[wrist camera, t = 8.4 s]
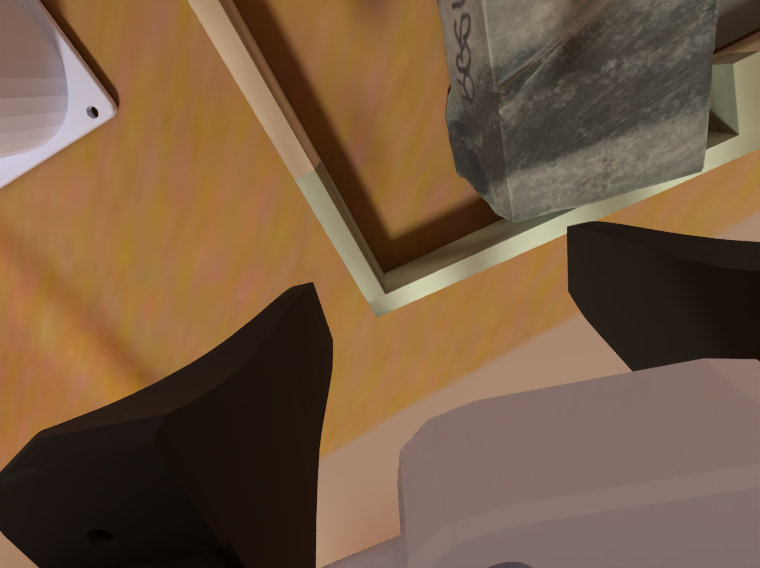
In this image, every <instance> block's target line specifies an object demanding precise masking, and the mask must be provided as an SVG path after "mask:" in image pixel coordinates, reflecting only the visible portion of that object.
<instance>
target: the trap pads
mask: <svg viewBox="0 0 760 568" xmlns="http://www.w3.org/2000/svg"><path fill="white" fill-rule="evenodd" d="M758 28H760V0H719V5H718V14H717V23H716V35H715V49H717V48H719V47H721V46H723V45H725V44H728V43H730V42H732V41H734V40H736V39H738V38H740V37H742V36H744V35H746V34H748V33H750V32H752V31H754V30H756V29H758ZM715 49H714V50H715Z"/></svg>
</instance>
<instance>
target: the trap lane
mask: <svg viewBox="0 0 760 568" xmlns="http://www.w3.org/2000/svg"><path fill="white" fill-rule="evenodd" d="M188 2H189V3H190V5H191V7H192V8H193V10H194V12H195V13H196V15H197V17H198V18H199V20H200V22H201V23H202V25H203V27H204V28H205V30H206V32H207V33H208V35H209V37H210V38H211V40H212V42H213V43H214V45H215V47H216V49H217V50H218V52H219V54H220V55H221V57H222V59H223V60H224V62H225V64H226V65H227V67H228V69H229V70H230V72H231V74H232V75H233V77H234V79H235V80H236V82H237V84H238V85H239V87H240V89H241V90H242V92H243V94H244V95H245V97H246V99H247V100H248V102H249V104H250V106H251V107H252V109H253V111H254V112H255V114H256V116H257V117H258V119H259V121H260V122H261V124H262V126H263V127H264V129H265V131H266V132H267V134H268V136H269V137H270V139H271V141H272V142H273V144H274V146H275V147H276V149H277V151H278V152H279V154H280V156H281V157H282V159H283V161H284V162H285V164H286V166H287V168H288V169H289V171H290V173H291V174H292V176H293V178H294V179H295V181H296V183H297V184H298V186H299V188H300V189H301V191H302V193H303V194H304V196H305V198H306V199H307V201H308V203H309V204H310V206H311V208H312V209H313V211H314V213H315V214H316V216H317V218H318V219H319V221H320V223H321V225H322V226H323V228H324V230H325V231H326V233H327V235H328V236H329V238H330V240H331V241H332V243H333V245H334V246H335V248H336V250H337V251H338V253H339V255H340V256H341V258H342V260H343V261H344V263H345V265H346V266H347V268H348V270H349V271H350V273H351V275H352V276H353V278H354V280H355V281H356V283H357V285H358V287H359V288H360V290H361V292H362V293H363V295H364V297H365V298H366V300H367V302H368V303H369V305H370V307H371V308H372V310H373V312H374V313H375V315H376V317H379V316H381V315H383V314H386V313H388V312H390V311H392V310H395V309H397V308H399V307H401V306H404V305H406V304H408V303H410V302H413V301H415V300H417V299H420V298H422V297H424V296H426V295H429V294H431V293H433V292H435V291H438V290H440V289H442V288H444V287H447V286H449V285H451V284H453V283H456V282H458V281H460V280H463V279H465V278H467V277H469V276H472V275H474V274H476V273H478V272H481V271H483V270H485V269H487V268H490V267H492V266H494V265H496V264H499V263H501V262H503V261H506V260H508V259H510V258H512V257H515V256H517V255H519V254H521V253H524V252H526V251H528V250H530V249H533V248H535V247H537V246H539V245H542V244H544V243H546V242H549V241H551V240H553V239H555V238H558V237H560V236H562V235H564V234H567V226H571V225H575V224H580V223H585V222H589V221H596V220H598V219H601V218H603V217H605V216H607V215H610V214H612V213H614V212H616V211H619V210H621V209H623V208H625V207H628V206H630V205H632V204H635V203H637V202H639V201H641V200H644V199H646V198H648V197H650V196H653V195H655V194H657V193H659V192H662V191H664V190H666V189H668V188H671V187H673V186H675V185H678V184H680V183H682V182H684V181H687V180H689V179H691V178H693V177H696V176H698V175H700V174H702V173H705V172H707V171H709V170H711V169H714V168H716V167H718V166H721V165H723V164H725V163H727V162H730V161H732V160H734V159H736V158H739V157H741V156H743V155H745V154H748V153H750V152H752V151H754V150H757V149H759V148H760V31H759V32H757V33H755V34H753V35H751V36H749V37H747V38H745V39H743V40H741V41H739V42H737V43H735V44H733V45H731V46H728V47H726V48H724V49H722V50H720V51H718V52H716V53H714V54H712V86H711V97H710V108H709V121H708V133H707V143H706V153H705V161H704V168H703V170H702V172H699V173H695V174H692V175H689V176H685V177H682V178H679V179H675V180H672V181H668V182H665V183H661V184H657V185H654V186H650V187H647V188H644V189H637V190H634V191H631V192H629V193H626V194H623V195H619V196H616V197H613V198H609V199H606V200H603V201H600V202H597V203H593V204H589V205H585V206H581V207H577V208H570V209H564V210H559V211H555V212H552V213H548V214H545V215H541V216H537V217H532V218H530V219H526V220H523V221H518V222H511V221H510V220H509V219H508V220H507V219H505V218H503V219H501V220H499V221H497V222H495V223H493V224H490V225H488V226H486V227H484V228H482V229H480V230H477V231H475V232H473V233H471V234H469V235H467V236H464V237H462V238H460V239H458V240H456V241H454V242H451V243H449V244H447V245H445V246H443V247H441V248H439V249H436V250H434V251H432V252H430V253H428V254H426V255H423V256H421V257H419V258H417V259H415V260H413V261H410V262H408V263H406V264H404V265H402V266H400V267H397V268H395V269H393V270H391V271H389V272H387V273H385V274H384V273H383V271H382V269H381V267H380V265H379V264H378V262H377V260H376V258H375V256H374V255H373V253H372V251H371V249H370V247H369V246H368V244H367V242H366V240H365V238H364V237H363V235H362V233H361V231H360V229H359V228H358V226H357V224H356V222H355V220H354V219H353V217H352V215H351V213H350V211H349V209H348V208H347V206H346V204H345V202H344V200H343V199H342V197H341V195H340V193H339V191H338V190H337V188H336V186H335V184H334V182H333V181H332V179H331V177H330V175H329V173H328V172H327V170H326V168H325V166H324V164H323V163H322V161H321V159H320V157H319V155H318V154H317V152H316V150H315V148H314V146H313V145H312V143H311V141H310V139H309V137H308V136H307V134H306V132H305V130H304V128H303V127H302V125H301V123H300V121H299V119H298V118H297V116H296V114H295V112H294V110H293V108H292V107H291V105H290V103H289V101H288V99H287V98H286V96H285V94H284V92H283V90H282V89H281V87H280V85H279V83H278V81H277V80H276V78H275V76H274V74H273V72H272V71H271V69H270V67H269V65H268V63H267V62H266V60H265V58H264V56H263V54H262V53H261V51H260V49H259V47H258V45H257V44H256V42H255V40H254V38H253V36H252V35H251V33H250V31H249V29H248V27H247V26H246V24H245V22H244V20H243V18H242V17H241V15H240V13H239V11H238V9H237V7H236V6H235V4H234V2H233V0H188Z"/></svg>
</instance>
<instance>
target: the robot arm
mask: <svg viewBox="0 0 760 568" xmlns="http://www.w3.org/2000/svg"><path fill="white" fill-rule="evenodd" d="M92 107H95V108H96V109H97V110H98V113H99V116H98V117H96V116H94V115H93V113H92ZM116 112H117V107H116V104H115V102H114V100H113V99H112V98H111V96H110V95H109V94H108V92H107V91H106V90H105V88H104V87H103V85H102V84H101V83H100V81H99V80H98V79H97V77H96V76H95V75H94V73H93V72H92V71H91V69H90V68H89V66H88V65H87V64H86V62H85V61H84V60H83V58H82V57H81V56H80V54H79V53H78V52H77V50H76V49H75V47H74V46H73V45H72V43H71V42H70V41H69V39H68V38H67V37H66V35H65V34H64V33H63V31H62V30H61V28H60V27H59V26H58V24H57V23H56V22H55V20H54V19H53V18H52V16H51V15H50V13H49V12H48V11H47V9H46V8H45V7H44V5H43V4H42V3H41V1H40V0H0V188H2V187H4V186H5V185H7V184H8V183H10V182H12V181H13V180H15V179H16V178H18V177H19V176H21V175H23V174H24V173H26V172H27V171H29V170H30V169H32V168H34V167H35V166H37V165H38V164H40V163H42V162H43V161H45V160H46V159H48V158H49V157H51V156H53V155H54V154H56V153H57V152H59V151H60V150H62V149H64V148H65V147H67V146H68V145H70V144H71V143H73V142H75V141H76V140H78V139H79V138H81V137H83V136H84V135H86V134H87V133H89V132H90V131H92V130H94V129H95V128H97V127H98V126H100V125H101V124H103V123H105V122H106V121H108V120H109V119H111V118H113V117H114V116H115V115H116ZM567 255H568V292H569V293H570V295H571V297H572V298H573V300H574V302H575V303H576V305H577V306H578V308H579V310H580V311H581V313H582V314H583V316H584V317H585V318H586V319H587V321H588V322H589V323H590V324H591V325H592V327H593V328H594V329H595V330H596V331H597V332H598V333H599V335H600V336H601V337H602V338H603V339H604V340H605V341H606V342H607V343H608V345H609V346H610V347H611V348H612V349H613V350H614V351H615V352H616V353H617V355H618V356H619V357H620V358H621V359H622V360H623V361H624V362H625V363H626V365H627V366H628V367H629V368H630V369H631V370H632V371H633V372H628V373H623V374H618V375H613V376H607V377H601V378H596V379H590V380H585V381H580V382H575V383H570V384H564V385H558V386H553V387H547V388H542V389H537V390H531V391H526V392H521V393H515V394H510V395H505V396H499V397H494V398H489V399H483V400H478V401H473V402H471V403H468V404H466V405H463V406H461V407H458V408H456V409H453V410H451V411H448V412H446V413H443V414H441V415H438V416H436V417H433V418H431V419H428V420H427V421H426V422H425V423H424V425H423V426H422V427H421V428H420V429H419V430H418V431H417V432H416V433H415V434H414V435H413V437H412V438H411V439H410V440H409V441H408V442H407V443H406V444H405V445H404V447H403V448H402V449H401V450H400V457H399V470H398V499H399V513H400V514H399V515H400V531H401V535H399V536H396V537H394V538H392V539H389V540H387V541H385V542H382V543H379V544H377V545H375V546H372V547H370V548H367V549H365V550H362V551H360V552H358V553H355V554H353V555H350V556H348V557H345V558H343V559H341V560H338V561H336V562H334V563H331V564H329V565H326V566H324V567H321V568H760V242H751V241H750V242H749V241H736V240H725V239H715V238H707V237H699V236H691V235H684V234H677V233H670V232H664V231H658V230H652V229H646V228H641V227H635V226H629V225H623V224H616V223H609V222H599V221H589V222H585V223H580V224H575V225H571V226H567ZM332 367H333V339H332V336H331V333H330V330H329V327H328V324H327V321H326V318H325V315H324V313H323V310H322V307H321V304H320V301H319V298H318V295H317V292H316V289H315V286H314V284H313V282H311V283H306V284H302V285H297V286H293V287H291V288H289V289H288V290H286V291H285V292H284V293H283V294H281V295H280V296H279V297H278V298H276V299H275V300H274V301H273V302H272V303H271V304H270V305H268V306H267V307H266V308H265V309H264V310H263V311H261V312H260V313H259V314H258V315H257V316H256V317H254V318H253V319H252V320H251V321H250V322H248V323H247V324H246V325H244V326H243V327H242V328H241V329H239V330H238V331H237V332H236V333H234V334H233V335H232V336H231V337H229V338H228V339H227V340H225V341H224V342H223V343H221V344H220V345H218V346H217V347H215V348H214V349H213V350H211V351H209V352H208V353H206V354H205V355H203V356H202V357H200V358H199V359H197V360H195V361H194V362H192V363H191V364H189V365H187V366H185V367H183V368H182V369H180V370H178V371H176V372H174V373H173V374H171V375H169V376H167V377H165V378H164V379H162V380H160V381H158V382H156V383H154V384H152V385H150V386H148V387H146V388H144V389H142V390H140V391H138V392H136V393H134V394H131V395H129V396H127V397H125V398H123V399H120V400H118V401H116V402H114V403H111V404H109V405H107V406H104V407H102V408H100V409H97V410H94V411H92V412H89V413H87V414H84V415H81V416H79V417H76V418H74V419H71V420H68V421H66V422H63V423H61V424H58V425H55V426H53V427H50V428H47V429H44V430H42V431H40V432H39V433H37V434H36V435H35V436H34V437H33V438H32V439H31V440H30V441H29V442H28V443H27V444H26V445H25V446H24V447H23V449H22V450H21V451H20V452H19V453H18V454H17V455H16V456H15V457H14V458H13V459H12V460H11V461H10V462H9V463H8V464H7V465H6V466H5V467H4V468H3V470H2V471H1V472H0V531H1V532H2V533H3V535H4V536H5V537H6V538H7V539H9V540H10V541H11V542H12V543H13V544H14V545H15V546H16V547H17V548H18V549H19V550H20V551H22V552H23V553H24V554H25V555H26V556H27V557H28V558H29V559H30V560H31V561H32V562H33V563H34V564H36V565H37V566H38V567H39V568H316V512H317V484H318V466H319V449H320V441H321V433H322V427H323V421H324V415H325V410H326V404H327V398H328V392H329V387H330V380H331V374H332Z"/></svg>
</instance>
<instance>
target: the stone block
mask: <svg viewBox="0 0 760 568" xmlns="http://www.w3.org/2000/svg"><path fill="white" fill-rule="evenodd" d="M437 2H438V6H439V9H440V15H441V21H442V25H443V29H444V40H445V52H446V58H447V63H448V68H449V77H450V81H451V90H450V92H449V94H448V97H447V108H446V114H445V116H446V122H447V127H448V131H449V140H450V145H451V149H452V153H453V157H454V162H455V166H456V171H457V174H458V175H459V176H461V177H464V178H466V179H467V180H468V181H469V183H470V184H471V185H472V186H473V188H474V189H475V190H476V191H477V192H478V194H479V195H480V196H481V197H482V198H483V199H484V200H485V201H486V202H488V204H489V205H490V206H491V208H492V209H493V211H494V212H495V213H496V214H497V215H498V216H502V217H504V218H505V219H507V220H508V219H509V220H510V221H511V222H518V221H523V220H526V219H530V218H532V217H537V216H541V215H545V214H548V213H552V212H555V211H559V210H564V209H570V208H577V207H581V206H585V205H589V204H593V203H597V202H600V201H603V200H606V199H609V198H613V197H616V196H619V195H623V194H626V193H629V192H631V191H634V190H637V189H644V188H647V187H650V186H654V185H657V184H661V183H665V182H668V181H672V180H675V179H679V178H682V177H685V176H689V175H692V174H695V173H699V172H702V170H703V168H704V161H705V153H706V143H707V133H708V121H709V108H710V97H711V86H712V54H713V52H714V49H715V35H716V23H717V14H718V5H719V0H437Z"/></svg>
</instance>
